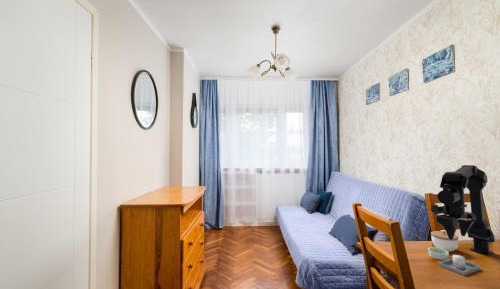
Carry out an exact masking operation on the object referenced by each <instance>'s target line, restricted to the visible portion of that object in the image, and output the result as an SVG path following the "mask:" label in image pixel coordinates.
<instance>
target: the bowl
mask: <svg viewBox="0 0 500 289" xmlns="http://www.w3.org/2000/svg"><path fill="white" fill-rule="evenodd" d="M427 255H428V256H429V257H430V258H433V259H437V260H442V261H445V260H448V259H450V254H449V252H448V251H446V250H443V249H440V248H437V247H436V246H434V247H432V246H431V247H428V248H427Z"/></svg>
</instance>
